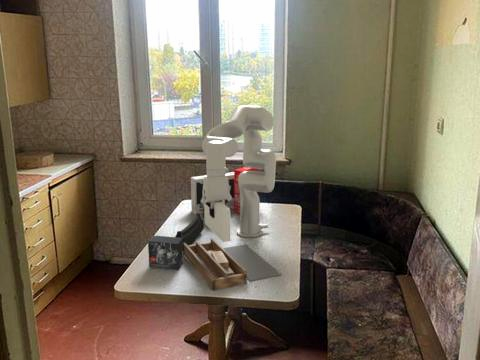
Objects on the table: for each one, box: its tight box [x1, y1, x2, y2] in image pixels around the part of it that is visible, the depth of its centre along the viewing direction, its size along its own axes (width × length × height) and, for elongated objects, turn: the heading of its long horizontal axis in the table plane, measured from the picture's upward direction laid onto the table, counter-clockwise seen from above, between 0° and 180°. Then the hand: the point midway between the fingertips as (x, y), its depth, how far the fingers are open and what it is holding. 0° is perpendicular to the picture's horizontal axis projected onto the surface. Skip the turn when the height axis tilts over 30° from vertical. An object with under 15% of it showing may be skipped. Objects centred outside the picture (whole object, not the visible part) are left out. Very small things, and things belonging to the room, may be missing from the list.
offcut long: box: [207, 250, 235, 276], centre depth 198 cm, size 4×24×3 cm, turn 21°
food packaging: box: [233, 166, 259, 216], centre depth 266 cm, size 15×5×25 cm, turn 141°
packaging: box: [190, 171, 234, 215], centre depth 270 cm, size 30×6×20 cm, turn 117°
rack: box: [183, 238, 248, 291], centre depth 196 cm, size 14×36×6 cm, turn 24°
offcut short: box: [211, 251, 229, 268], centre depth 197 cm, size 4×12×2 cm, turn 16°
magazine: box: [174, 213, 205, 245], centre depth 221 cm, size 17×3×30 cm
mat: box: [223, 244, 282, 282], centre depth 203 cm, size 14×34×1 cm, turn 24°
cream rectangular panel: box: [204, 200, 231, 243], centre depth 192 cm, size 3×22×13 cm, turn 23°
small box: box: [147, 235, 184, 271], centre depth 198 cm, size 13×7×12 cm, turn 80°
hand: (216, 215), depth 192 cm, fingers closed on cream rectangular panel, 3 cm apart
